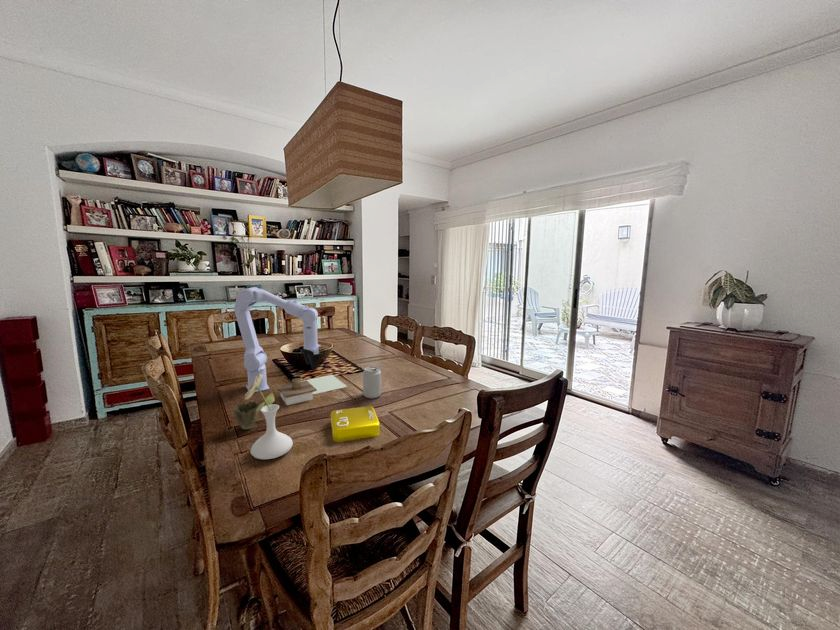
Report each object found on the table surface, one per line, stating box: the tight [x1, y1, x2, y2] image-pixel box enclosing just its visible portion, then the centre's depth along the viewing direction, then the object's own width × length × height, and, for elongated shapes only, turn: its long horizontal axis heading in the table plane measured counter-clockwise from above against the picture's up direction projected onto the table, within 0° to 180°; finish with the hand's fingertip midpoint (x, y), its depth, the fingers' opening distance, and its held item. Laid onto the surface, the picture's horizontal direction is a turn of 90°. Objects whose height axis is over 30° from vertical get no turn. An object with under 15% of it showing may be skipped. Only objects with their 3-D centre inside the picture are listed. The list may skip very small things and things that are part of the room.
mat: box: [301, 374, 348, 395], centre depth 148 cm, size 18×16×1 cm
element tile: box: [330, 405, 381, 443], centre depth 110 cm, size 15×15×5 cm
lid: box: [277, 377, 317, 398], centre depth 131 cm, size 12×12×4 cm
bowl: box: [280, 392, 314, 406], centre depth 132 cm, size 10×10×4 cm
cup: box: [232, 400, 260, 431], centre depth 108 cm, size 8×7×8 cm
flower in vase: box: [244, 374, 294, 460], centre depth 93 cm, size 13×11×25 cm
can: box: [362, 366, 382, 399], centre depth 136 cm, size 8×8×12 cm
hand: (311, 366), depth 142 cm, fingers open, 7 cm apart
